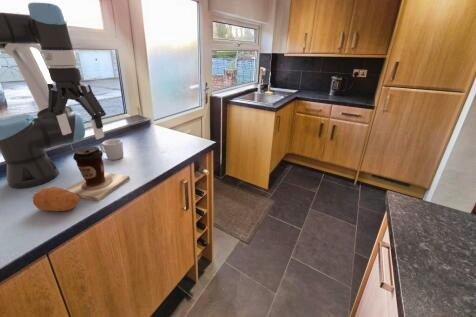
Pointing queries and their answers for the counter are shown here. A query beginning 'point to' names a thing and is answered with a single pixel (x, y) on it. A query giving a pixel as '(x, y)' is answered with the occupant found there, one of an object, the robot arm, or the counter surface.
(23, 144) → the robot arm
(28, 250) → the counter surface
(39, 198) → the potato
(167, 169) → the counter surface
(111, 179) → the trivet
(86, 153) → the coffee cup
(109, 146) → the cup
